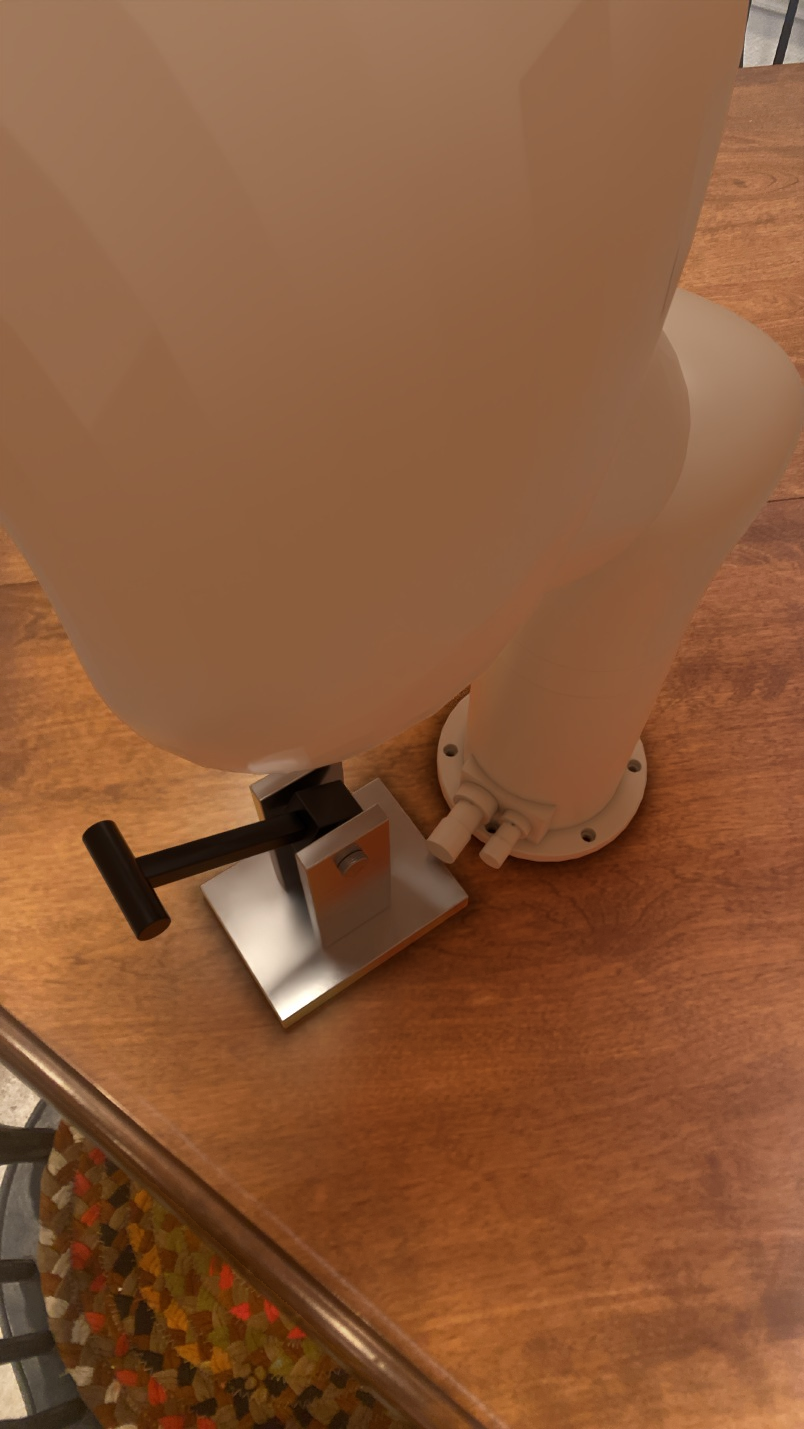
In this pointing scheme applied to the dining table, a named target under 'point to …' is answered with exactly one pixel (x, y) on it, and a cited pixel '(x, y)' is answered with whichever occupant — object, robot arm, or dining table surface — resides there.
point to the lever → (208, 852)
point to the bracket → (330, 896)
